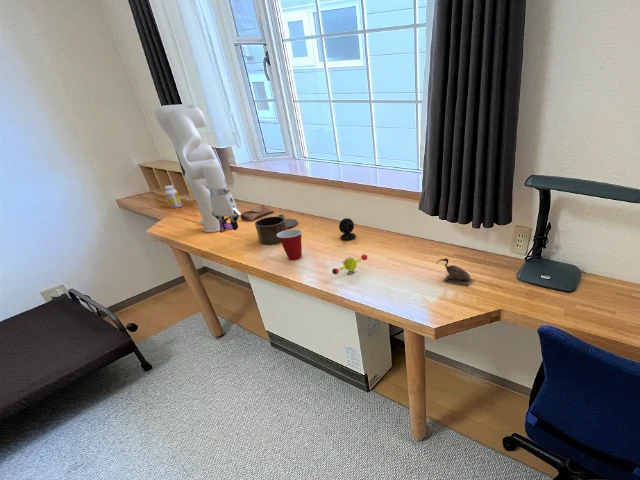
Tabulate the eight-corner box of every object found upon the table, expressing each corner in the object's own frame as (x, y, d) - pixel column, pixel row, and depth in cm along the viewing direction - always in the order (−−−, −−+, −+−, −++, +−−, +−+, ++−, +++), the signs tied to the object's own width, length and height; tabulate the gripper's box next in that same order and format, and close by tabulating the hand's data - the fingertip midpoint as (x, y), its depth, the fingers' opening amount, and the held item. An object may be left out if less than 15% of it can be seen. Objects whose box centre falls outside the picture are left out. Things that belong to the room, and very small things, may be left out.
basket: (257, 246, 174) (251, 227, 169) (263, 235, 186) (258, 217, 180) (286, 243, 175) (281, 225, 170) (291, 233, 187) (286, 215, 182)
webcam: (345, 242, 175) (342, 222, 170) (337, 237, 180) (334, 218, 175) (358, 237, 179) (356, 218, 174) (351, 233, 184) (348, 214, 179)
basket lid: (266, 231, 190) (263, 219, 186) (272, 221, 202) (269, 210, 199) (295, 229, 191) (292, 217, 188) (299, 219, 204) (297, 208, 200)
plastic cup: (306, 250, 168) (300, 226, 162) (308, 259, 160) (303, 234, 153) (281, 254, 165) (275, 229, 159) (283, 264, 157) (276, 238, 150)
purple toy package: (234, 213, 175) (218, 219, 169) (242, 219, 174) (226, 225, 168) (235, 225, 180) (219, 231, 173) (243, 230, 179) (227, 237, 172)
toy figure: (362, 263, 155) (360, 248, 152) (371, 266, 152) (370, 252, 149) (329, 279, 144) (326, 264, 140) (338, 283, 141) (336, 268, 137)
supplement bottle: (181, 204, 235) (173, 184, 228) (183, 206, 231) (175, 186, 224) (170, 206, 232) (161, 186, 225) (171, 208, 227) (163, 188, 220)
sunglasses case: (252, 221, 202) (244, 210, 201) (246, 225, 207) (238, 215, 205) (275, 211, 216) (268, 201, 214) (269, 215, 220) (262, 206, 218)
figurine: (434, 279, 142) (434, 259, 137) (438, 274, 145) (438, 254, 140) (468, 286, 137) (469, 265, 132) (472, 280, 140) (473, 260, 135)
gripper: (240, 189, 167) (251, 226, 177) (206, 188, 169) (219, 225, 179) (231, 194, 161) (243, 232, 171) (196, 193, 163) (210, 231, 173)
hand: (230, 228), depth 175 cm, fingers closed on purple toy package, 4 cm apart
